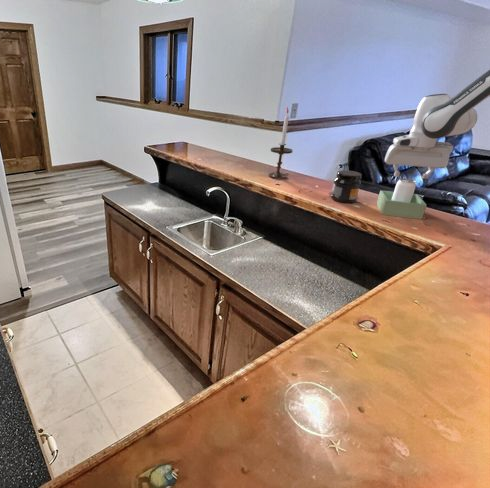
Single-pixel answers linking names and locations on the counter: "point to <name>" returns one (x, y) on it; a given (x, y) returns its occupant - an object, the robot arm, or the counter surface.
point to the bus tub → (400, 206)
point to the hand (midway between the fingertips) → (410, 177)
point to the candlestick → (281, 150)
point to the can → (404, 190)
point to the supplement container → (346, 186)
